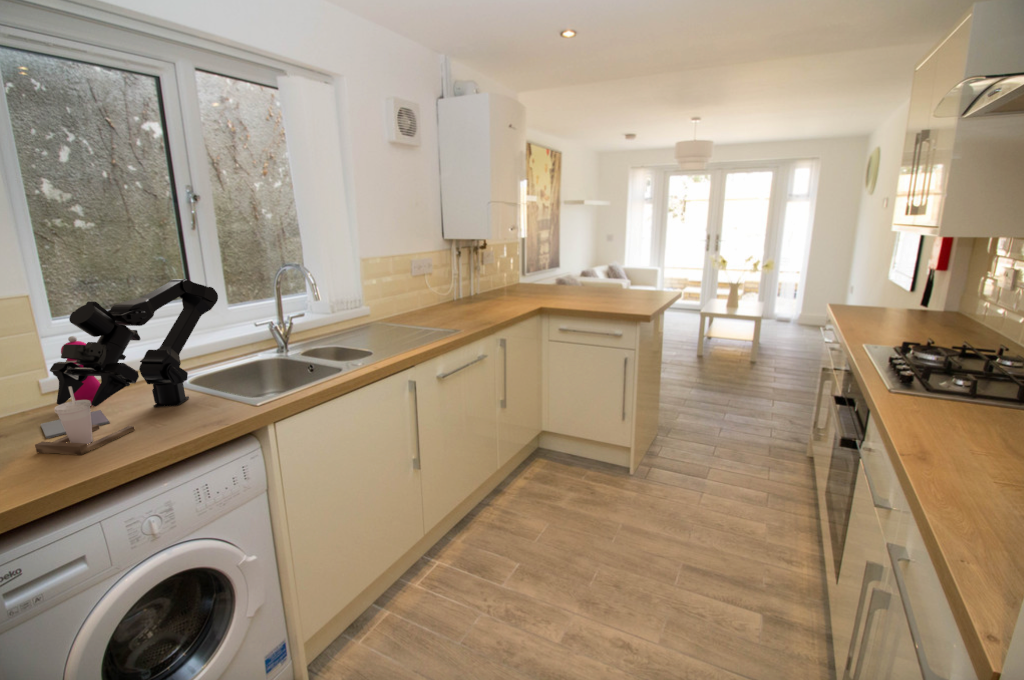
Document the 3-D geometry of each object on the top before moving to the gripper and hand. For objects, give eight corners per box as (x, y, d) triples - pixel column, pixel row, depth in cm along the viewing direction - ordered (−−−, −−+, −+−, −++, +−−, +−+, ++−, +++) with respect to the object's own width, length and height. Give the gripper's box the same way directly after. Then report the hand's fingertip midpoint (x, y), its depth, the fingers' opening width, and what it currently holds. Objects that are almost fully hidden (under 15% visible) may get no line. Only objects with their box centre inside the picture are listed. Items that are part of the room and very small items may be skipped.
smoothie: (79, 450, 110) (64, 392, 107) (56, 448, 112) (41, 390, 108) (107, 438, 117) (93, 382, 113) (85, 436, 118) (71, 381, 115)
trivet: (100, 411, 134) (100, 409, 133) (109, 423, 126) (109, 420, 126) (40, 425, 125) (40, 423, 125) (46, 438, 117) (45, 436, 117)
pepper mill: (77, 410, 135) (59, 340, 130) (67, 406, 139) (49, 337, 134) (109, 402, 141) (93, 334, 136) (98, 397, 145) (82, 332, 140)
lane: (93, 428, 123) (92, 420, 122) (134, 430, 121) (132, 422, 121) (36, 452, 110) (34, 444, 109) (81, 455, 108) (79, 446, 108)
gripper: (48, 328, 115) (7, 388, 107) (117, 329, 113) (81, 390, 105) (88, 352, 125) (53, 409, 117) (153, 353, 122) (122, 411, 114)
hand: (76, 405), depth 113 cm, fingers open, 9 cm apart
